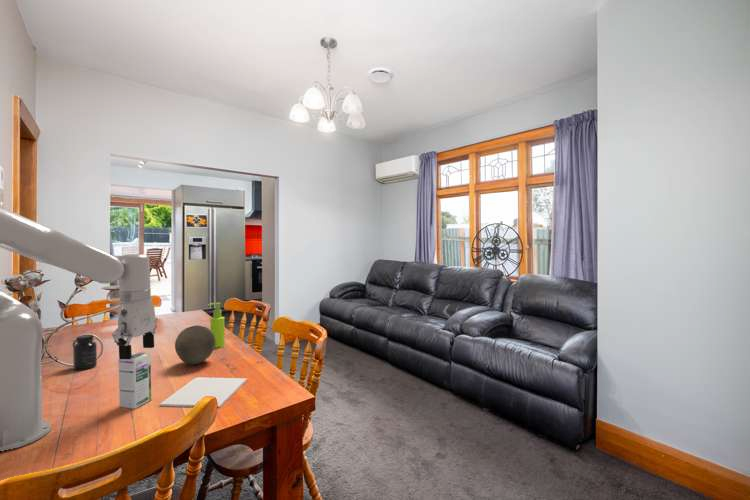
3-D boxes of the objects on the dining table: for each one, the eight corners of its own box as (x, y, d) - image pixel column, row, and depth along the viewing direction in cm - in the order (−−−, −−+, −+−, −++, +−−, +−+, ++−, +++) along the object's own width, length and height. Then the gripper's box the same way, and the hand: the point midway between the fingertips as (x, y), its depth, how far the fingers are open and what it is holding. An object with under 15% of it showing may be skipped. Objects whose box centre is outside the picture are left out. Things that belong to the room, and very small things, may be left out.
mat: (220, 407, 102) (220, 405, 102) (159, 405, 102) (159, 403, 102) (247, 380, 122) (247, 378, 122) (196, 378, 122) (196, 377, 122)
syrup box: (135, 409, 100) (135, 359, 100) (118, 407, 101) (117, 357, 101) (151, 400, 106) (151, 353, 105) (135, 398, 107) (135, 351, 106)
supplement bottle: (69, 368, 130) (69, 336, 130) (91, 363, 136) (91, 332, 136) (78, 372, 127) (78, 339, 127) (100, 366, 133) (100, 335, 133)
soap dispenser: (208, 345, 161) (208, 302, 160) (224, 343, 164) (224, 301, 163) (207, 349, 155) (207, 304, 155) (224, 347, 158) (224, 303, 158)
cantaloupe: (171, 363, 137) (171, 325, 137) (209, 355, 146) (209, 320, 146) (178, 374, 127) (178, 333, 126) (219, 365, 136) (219, 327, 135)
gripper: (126, 301, 94) (128, 364, 95) (166, 291, 111) (168, 343, 112) (99, 301, 94) (101, 363, 95) (143, 291, 111) (145, 343, 112)
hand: (137, 353), depth 104 cm, fingers open, 9 cm apart
